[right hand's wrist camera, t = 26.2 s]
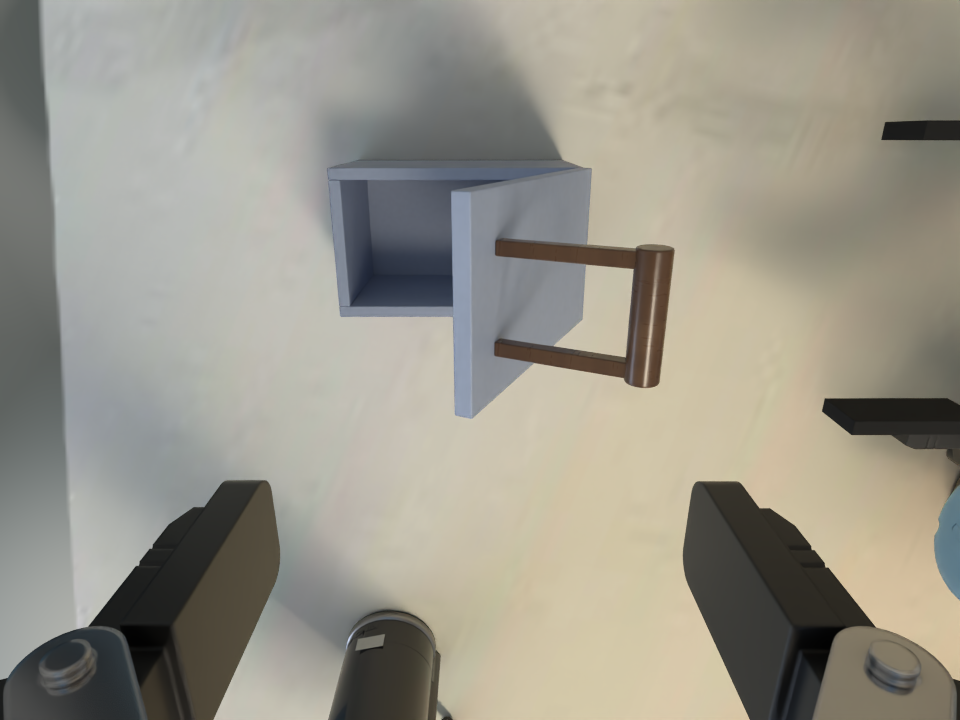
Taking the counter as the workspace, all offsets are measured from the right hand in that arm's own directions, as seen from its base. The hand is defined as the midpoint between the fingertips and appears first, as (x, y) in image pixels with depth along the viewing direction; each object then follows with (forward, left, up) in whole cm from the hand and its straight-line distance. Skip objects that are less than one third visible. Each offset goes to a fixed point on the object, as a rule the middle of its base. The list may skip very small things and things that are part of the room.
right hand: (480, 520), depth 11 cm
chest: (+1, +1, -40) cm, 40 cm away
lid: (-2, -2, -22) cm, 22 cm away
